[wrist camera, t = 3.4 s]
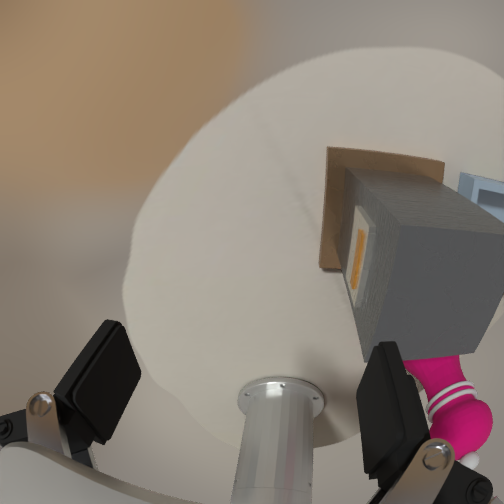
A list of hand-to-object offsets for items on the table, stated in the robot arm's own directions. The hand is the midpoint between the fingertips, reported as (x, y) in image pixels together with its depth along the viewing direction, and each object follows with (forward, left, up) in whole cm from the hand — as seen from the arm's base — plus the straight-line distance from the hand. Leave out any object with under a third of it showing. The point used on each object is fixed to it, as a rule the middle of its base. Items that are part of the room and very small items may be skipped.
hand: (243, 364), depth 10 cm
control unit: (0, -10, -18) cm, 20 cm away
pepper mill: (-12, -17, -18) cm, 27 cm away
